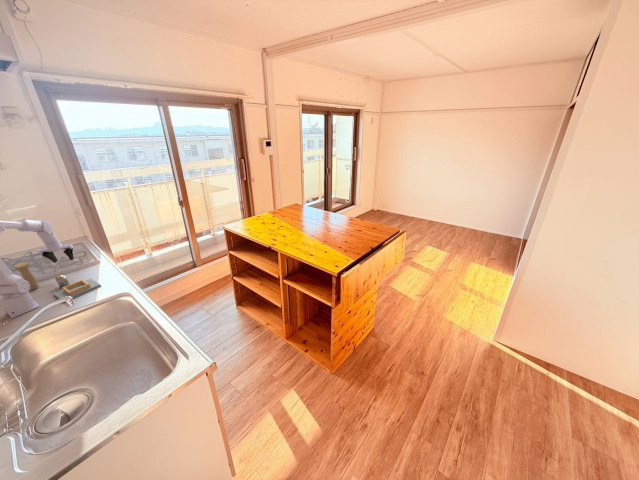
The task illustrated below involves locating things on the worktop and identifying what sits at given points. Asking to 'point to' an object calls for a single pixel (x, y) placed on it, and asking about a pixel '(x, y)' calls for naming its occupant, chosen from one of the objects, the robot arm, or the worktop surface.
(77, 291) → the fitting base
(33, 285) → the handle
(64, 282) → the valve stub
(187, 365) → the worktop surface
